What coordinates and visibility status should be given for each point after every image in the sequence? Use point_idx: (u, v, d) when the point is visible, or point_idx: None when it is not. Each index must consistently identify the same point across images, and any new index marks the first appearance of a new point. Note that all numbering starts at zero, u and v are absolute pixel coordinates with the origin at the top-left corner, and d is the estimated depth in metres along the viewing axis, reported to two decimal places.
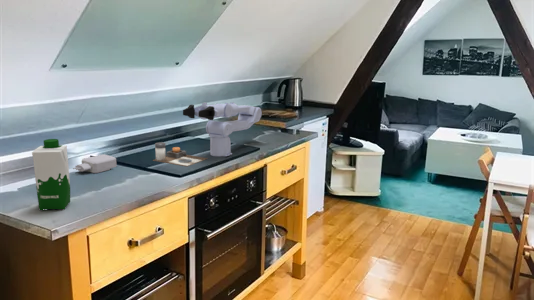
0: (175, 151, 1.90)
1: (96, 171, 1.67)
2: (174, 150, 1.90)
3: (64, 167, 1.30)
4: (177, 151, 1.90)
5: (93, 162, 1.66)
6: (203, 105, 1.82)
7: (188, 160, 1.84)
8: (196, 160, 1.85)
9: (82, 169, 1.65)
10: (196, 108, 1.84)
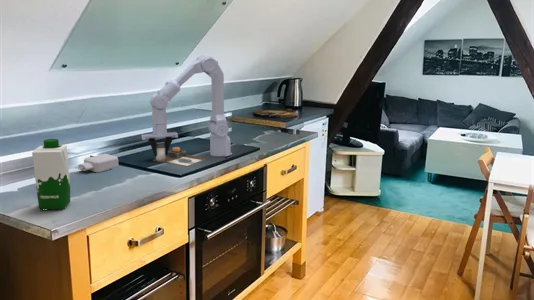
0: (175, 151, 1.90)
1: (98, 170, 1.68)
2: (174, 150, 1.90)
3: (64, 167, 1.30)
4: (177, 151, 1.90)
5: (95, 161, 1.67)
6: None
7: (188, 160, 1.84)
8: (196, 160, 1.85)
9: (84, 168, 1.66)
10: None
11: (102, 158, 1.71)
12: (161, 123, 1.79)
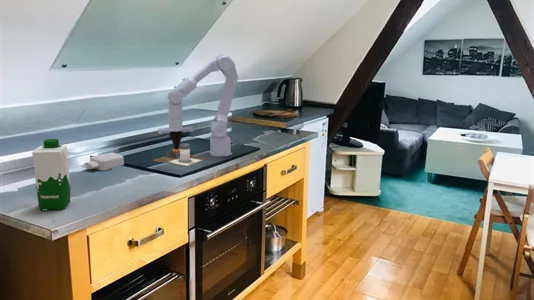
0: (175, 152, 1.90)
1: (104, 169, 1.70)
2: (174, 151, 1.90)
3: (64, 167, 1.30)
4: (177, 152, 1.90)
5: (101, 160, 1.69)
6: None
7: None
8: (196, 160, 1.85)
9: (90, 167, 1.68)
10: None
11: (108, 157, 1.73)
12: (176, 117, 1.85)
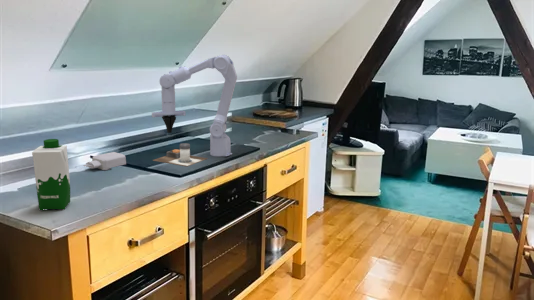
0: None
1: (106, 168, 1.71)
2: (174, 152, 1.90)
3: (64, 167, 1.30)
4: None
5: (103, 159, 1.70)
6: None
7: None
8: (196, 160, 1.85)
9: (92, 166, 1.69)
10: None
11: (110, 156, 1.74)
12: (167, 101, 1.89)
